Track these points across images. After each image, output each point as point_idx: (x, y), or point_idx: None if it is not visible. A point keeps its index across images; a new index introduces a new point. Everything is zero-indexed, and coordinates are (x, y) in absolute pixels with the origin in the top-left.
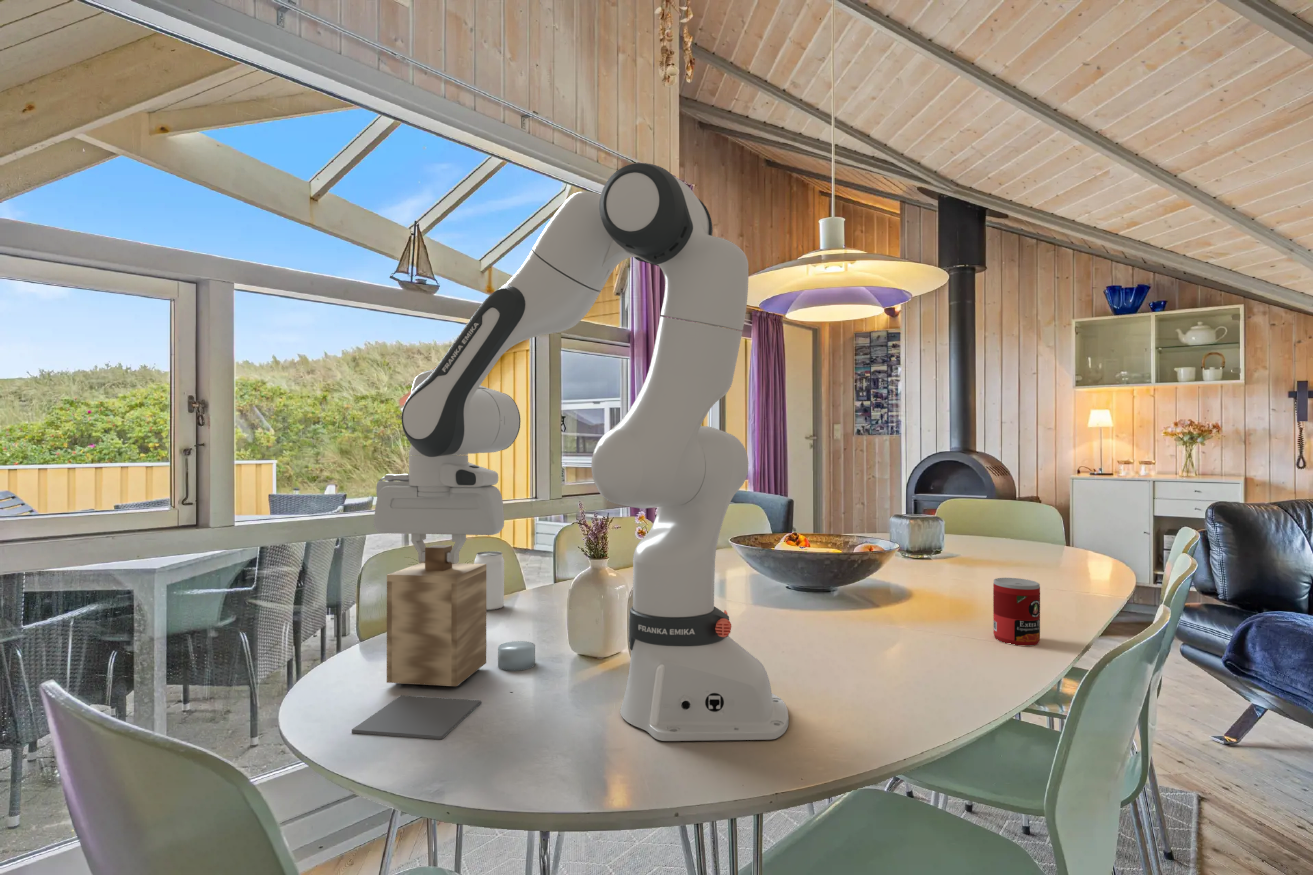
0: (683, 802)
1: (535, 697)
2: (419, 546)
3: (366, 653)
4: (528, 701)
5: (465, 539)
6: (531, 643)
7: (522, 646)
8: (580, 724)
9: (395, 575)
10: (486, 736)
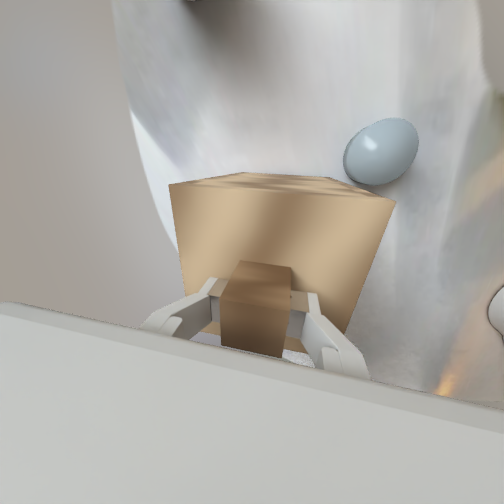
0: (485, 399)
1: (397, 264)
2: (195, 331)
3: (154, 133)
4: (389, 273)
5: (361, 361)
6: (411, 131)
7: (393, 153)
8: (438, 317)
9: (207, 332)
10: (356, 328)
